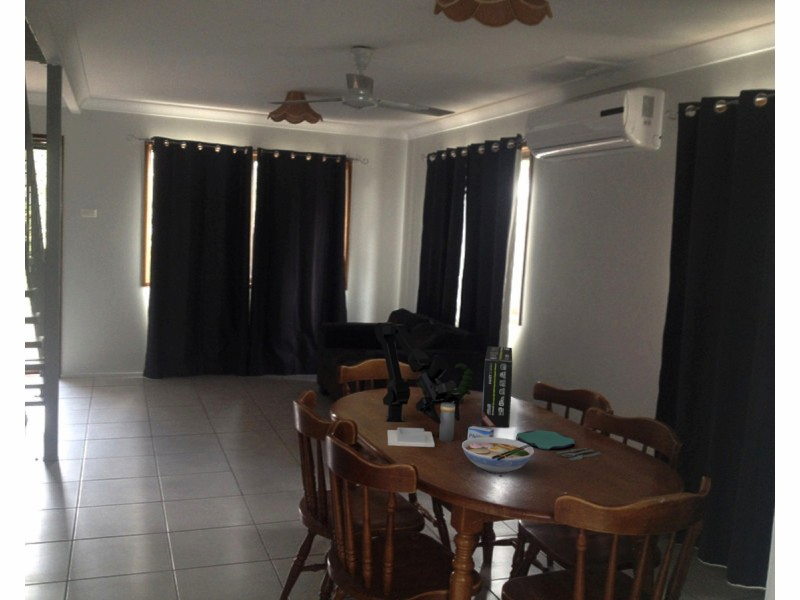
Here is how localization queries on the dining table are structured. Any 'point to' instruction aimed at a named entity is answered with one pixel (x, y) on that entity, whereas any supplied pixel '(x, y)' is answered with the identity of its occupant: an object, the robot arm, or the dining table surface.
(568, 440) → the cutlery set
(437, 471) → the dining table surface
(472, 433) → the medicine box
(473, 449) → the ramen bowl
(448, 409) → the grey can
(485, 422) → the router box
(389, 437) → the socket plate
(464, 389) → the toy figurine
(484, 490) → the dining table surface
